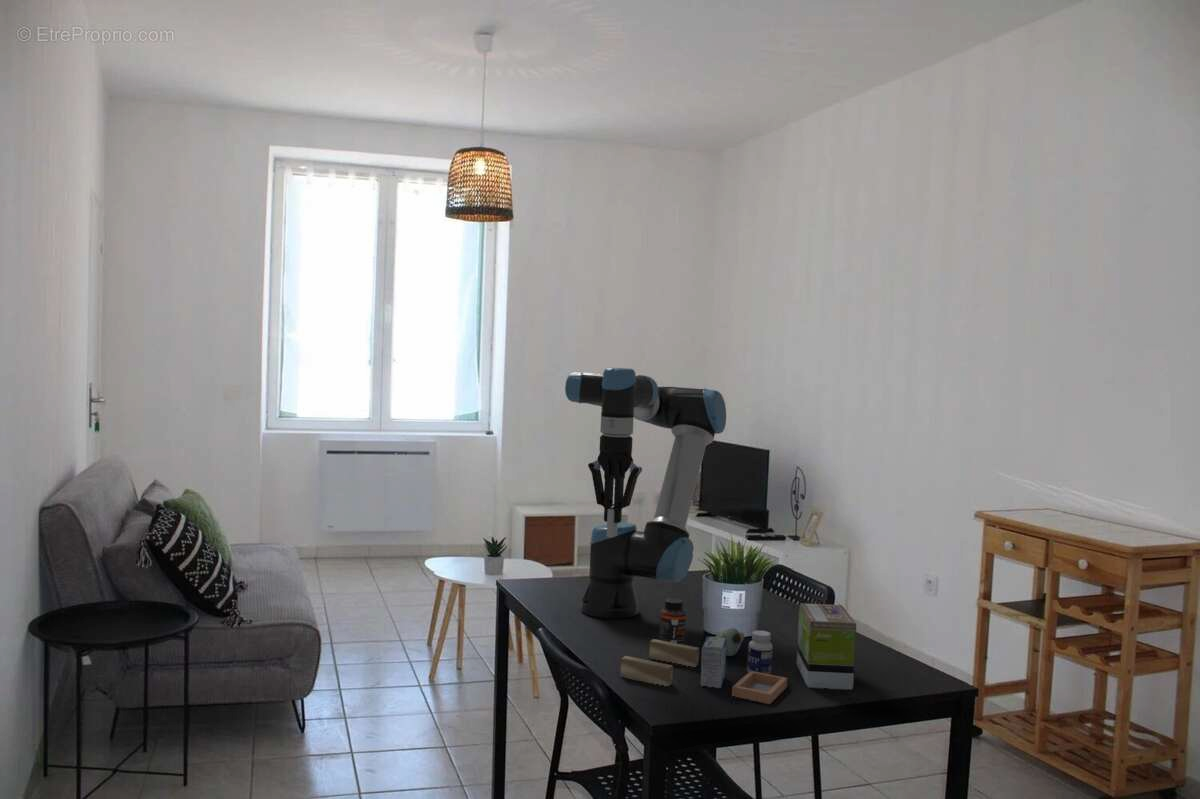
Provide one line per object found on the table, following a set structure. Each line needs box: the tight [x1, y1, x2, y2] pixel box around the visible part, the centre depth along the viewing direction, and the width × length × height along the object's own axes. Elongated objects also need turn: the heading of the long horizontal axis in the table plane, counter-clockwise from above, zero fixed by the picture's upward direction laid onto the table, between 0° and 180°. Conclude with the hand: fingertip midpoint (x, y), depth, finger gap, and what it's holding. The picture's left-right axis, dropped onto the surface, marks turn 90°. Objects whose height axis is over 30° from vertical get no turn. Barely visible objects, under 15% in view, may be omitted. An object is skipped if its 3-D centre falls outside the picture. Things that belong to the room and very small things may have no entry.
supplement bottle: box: [658, 598, 687, 645], centre depth 236 cm, size 6×6×11 cm
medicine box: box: [700, 636, 727, 689], centre depth 213 cm, size 8×4×9 cm, turn 168°
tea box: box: [796, 602, 857, 691], centre depth 220 cm, size 15×10×15 cm, turn 178°
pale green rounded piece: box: [715, 627, 746, 657], centre depth 231 cm, size 8×4×7 cm, turn 121°
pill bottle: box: [746, 630, 774, 675], centre depth 221 cm, size 5×5×9 cm
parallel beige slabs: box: [620, 638, 700, 687], centre depth 219 cm, size 17×11×4 cm, turn 153°
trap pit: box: [731, 671, 788, 705], centre depth 209 cm, size 12×8×2 cm, turn 153°
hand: (611, 536), depth 233 cm, fingers closed
